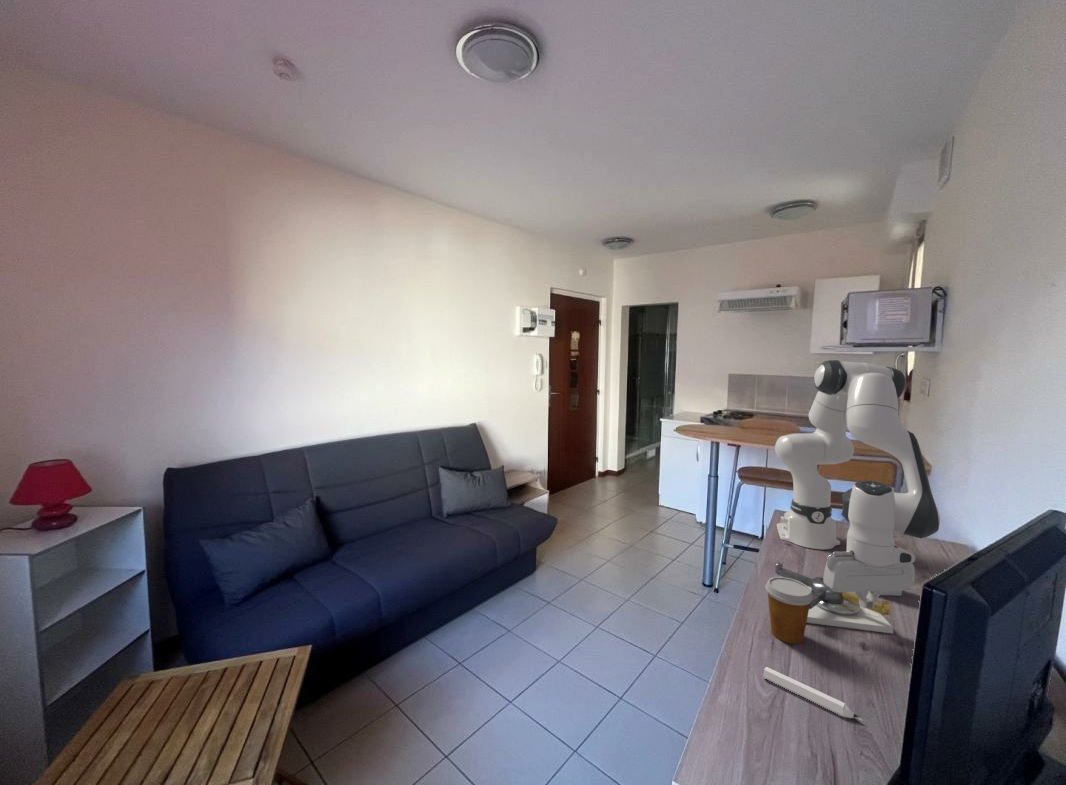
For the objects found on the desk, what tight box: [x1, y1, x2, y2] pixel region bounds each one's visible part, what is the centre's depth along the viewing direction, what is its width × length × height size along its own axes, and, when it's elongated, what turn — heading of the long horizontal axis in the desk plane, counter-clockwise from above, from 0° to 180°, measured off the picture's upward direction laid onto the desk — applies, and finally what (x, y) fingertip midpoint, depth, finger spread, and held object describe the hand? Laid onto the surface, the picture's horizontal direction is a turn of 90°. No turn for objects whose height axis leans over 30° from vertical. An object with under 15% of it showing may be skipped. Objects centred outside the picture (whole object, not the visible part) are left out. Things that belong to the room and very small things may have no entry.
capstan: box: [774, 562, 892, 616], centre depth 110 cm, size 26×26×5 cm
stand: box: [806, 586, 894, 634], centre depth 111 cm, size 18×20×4 cm
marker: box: [762, 666, 864, 721], centre depth 80 cm, size 3×2×16 cm
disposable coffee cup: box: [764, 576, 813, 645], centre depth 99 cm, size 10×10×12 cm
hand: (866, 606), depth 102 cm, fingers closed
